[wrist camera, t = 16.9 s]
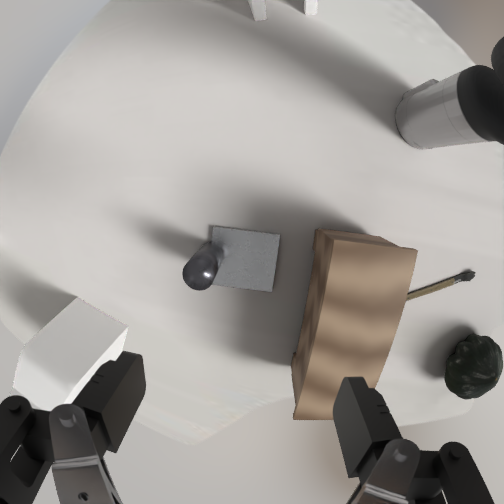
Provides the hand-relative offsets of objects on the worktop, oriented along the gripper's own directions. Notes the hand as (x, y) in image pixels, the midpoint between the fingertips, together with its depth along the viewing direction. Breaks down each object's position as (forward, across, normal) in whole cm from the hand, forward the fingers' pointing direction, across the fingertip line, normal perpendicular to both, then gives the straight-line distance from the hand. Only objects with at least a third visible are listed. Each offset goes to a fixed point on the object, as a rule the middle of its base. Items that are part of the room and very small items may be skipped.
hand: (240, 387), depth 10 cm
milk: (+34, +29, +23) cm, 50 cm away
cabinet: (+34, -14, +11) cm, 38 cm away
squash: (+34, -50, +22) cm, 65 cm away
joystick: (+34, +2, +4) cm, 34 cm away
